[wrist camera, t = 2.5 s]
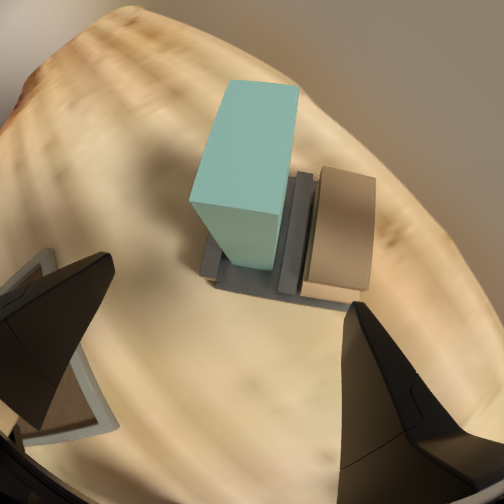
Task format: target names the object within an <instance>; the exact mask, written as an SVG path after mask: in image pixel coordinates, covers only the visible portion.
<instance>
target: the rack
mask: <svg viewBox="0 0 504 504" xmlns="http://www.w3.org/2000/svg"><path fill="white" fill-rule="evenodd" d="M312 179H313V174H310V173H305V172H299V171H297V176H296V178H294V177H288V182H287V189H286V196H285V203H284V208H283V214H282V220H281V226H280V232H279V237H278V243H277V248H276V254H275V259H274V265H273V270H272V272H270V271H265V270H259V269H254V268H249V267H243V266H238V265H233V264H232V263H231V261H230V260H229V259H228V257H227V256H226V254H225V253H224V252H223V250H222V249H221V247H220V246H219V244H218V243H217V241H216V240H215V239H214V237H213V236H212V234H211V233H210V231H209V235H208V239H207V243H206V247H205V252H204V256H203V260H202V265H201V269H200V274H199V276H200V277H202V278H204V279H206V280H211V281H216V282H215V287H214V288H215V289H218V290H223V291H228V292H233V293H238V294H243V295H248V296H253V297H259V298H264V299H269V300H275V301H280V302H286V303H292V304H298V305H304V306H310V307H316V308H322V309H328V310H335V311H341V312H348V309H349V307H350V305H351V304H349V303H342V302H336V301H330V300H324V299H317V298H312V297H306V296H300V295H299V292H300V284H301V279H302V273H303V266H304V260H305V254H306V247H307V240H308V234H309V226H310V219H311V212H312V204H313V196H314V190H315V188H316V185H317V184H319V182H316V181H312Z"/></svg>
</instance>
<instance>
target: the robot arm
mask: <svg viewBox="0 0 504 504" xmlns="http://www.w3.org/2000/svg"><path fill="white" fill-rule="evenodd" d="M114 274H115V269H114V264H113V260H112V256H111V254H110V253H107V252H103V251H102V252H98V253H96V254H94V255H91V256H89V257H86V258H84V259H82V260H79V261H77V262H74V263H72V264H70V265H68V266H65V267H63V268H61V269H58V270H56V271H54V272H52V273H49V274H47V275H45V276H43V277H41V278H38V279H36V280H34V281H32V282H30V283H28V284H25V285H23V286H21V287H19V288H17V289H15V290H12V291H10V292H8V293H5V294H3V295H1V296H0V504H99V503H98V502H96V501H94V500H92V499H90V498H89V497H87V496H85V495H84V494H82V493H80V492H79V491H77V490H75V489H74V488H72V487H71V486H69V485H68V484H66V483H65V482H63V481H62V480H60V479H59V478H57V477H56V476H54V475H53V474H52V473H50V472H49V471H48V470H46V469H45V468H44V467H42V466H41V465H40V464H38V463H37V462H36V461H35V460H33V459H32V458H31V457H30V456H29V455H27V454H26V453H25V452H24V451H25V449H24V445H23V441H22V436H21V431H20V426H19V425H18V424H17V423H16V422H17V420H18V418H19V416H20V417H21V418H22V419H23V420H25V421H26V422H27V423H28V424H30V425H31V426H32V427H34V428H35V429H36V430H38V431H40V430H41V428H42V425H43V422H44V420H45V417H46V415H47V412H48V410H49V407H50V405H51V402H52V400H53V398H54V395H55V393H56V391H57V390H56V389H57V388H58V386H59V384H60V382H61V379H62V377H63V375H64V373H65V371H66V369H67V367H68V365H69V363H70V360H71V358H72V356H73V354H74V352H75V351H76V349H77V347H78V345H79V343H80V341H81V339H82V337H83V335H84V333H85V332H86V330H87V328H88V326H89V324H90V322H91V321H92V319H93V317H94V315H95V314H96V312H97V310H98V308H99V306H100V304H101V302H102V300H103V298H104V296H105V294H106V292H107V290H108V288H109V285H110V283H111V281H112V279H113V277H114ZM341 377H342V435H341V459H340V470H341V471H340V473H339V486H338V496H337V504H504V444H502V443H499V442H495V441H491V440H488V439H484V438H481V437H477V436H474V435H471V434H469V433H467V432H466V431H464V430H463V429H462V428H461V427H460V426H459V425H458V424H457V423H456V422H455V421H454V419H453V418H452V417H451V416H450V414H449V413H448V412H447V411H446V409H445V408H444V407H443V406H442V405H441V403H440V402H439V401H438V400H437V398H436V397H435V396H434V395H433V393H432V392H431V391H430V389H429V388H428V387H427V385H426V384H425V383H424V381H423V380H422V379H421V377H420V376H419V374H418V373H416V370H415V369H414V367H413V366H412V365H411V363H410V362H409V360H408V359H407V358H406V356H405V355H404V354H403V352H402V351H401V350H400V348H399V347H398V346H397V344H396V343H395V342H394V340H393V339H392V338H391V336H390V335H389V334H388V332H387V331H386V330H385V328H384V327H383V326H382V324H381V323H380V322H379V321H378V319H377V318H376V317H375V315H374V314H373V313H372V312H371V310H370V309H369V308H368V307H367V305H366V304H365V303H364V302H359V301H353V302H352V303H351V305H350V307H349V309H348V312H347V314H346V316H345V319H344V324H343V342H342V355H341Z"/></svg>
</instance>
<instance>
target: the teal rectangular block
mask: <svg viewBox="0 0 504 504" xmlns="http://www.w3.org/2000/svg"><path fill="white" fill-rule="evenodd" d="M299 88H300V87H298V86H292V85H284V84H277V83H268V82H257V81H244V80H230V81H229V84H228V86H227V89H226V91H225V94H224V97H223V99H222V102H221V105H220V107H219V110H218V113H217V115H216V118H215V121H214V124H213V126H212V129H211V132H210V135H209V138H208V141H207V144H206V147H205V150H204V153H203V156H202V159H201V162H200V165H199V168H198V171H197V175H196V178H195V181H194V184H193V188H192V191H191V194H190V198H189V202H190V204H191V205H192V207H193V208H194V210H195V211H196V213H197V214H198V215H199V217H200V218H201V220H202V221H203V223H204V224H205V226H206V227H207V229H208V230H209V231H210V233H211V234H212V236H213V237H214V239H215V240H216V241H217V243H218V244H219V246H220V247H221V249H222V250H223V252H224V253H225V254H226V256H227V257H228V259H229V260H230V261H231V263H232V264H233V265H238V266H243V267H249V268H254V269H259V270H265V271H270V272H272V270H273V265H274V259H275V254H276V248H277V243H278V237H279V232H280V226H281V220H282V214H283V208H284V203H285V196H286V189H287V182H288V175H289V168H290V161H291V153H292V145H293V138H294V130H295V122H296V114H297V105H298V97H299Z"/></svg>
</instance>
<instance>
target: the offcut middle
mask: <svg viewBox="0 0 504 504" xmlns="http://www.w3.org/2000/svg"><path fill="white" fill-rule="evenodd" d="M318 189H319V184H317V185H316V188H315V190H314V198H313V206H312V214H311V221H310V228H309V235H308V242H307V249H306V255H305V262H304V268H303V274H302V280H301V286H300V292H299V295H300V296H306V297H312V298H317V299H324V300H330V301H336V302H342V303H349V304H351V303H352V302H353V301H359V296H360V291H357V290H351V289H345V288H339V287H333V286H327V285H321V284H315V283H309V282H306V276H307V270H308V263H309V257H310V250H311V243H312V236H313V229H314V222H315V214H316V206H317V198H318Z"/></svg>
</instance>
